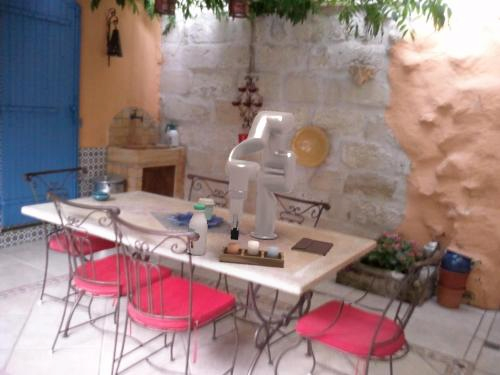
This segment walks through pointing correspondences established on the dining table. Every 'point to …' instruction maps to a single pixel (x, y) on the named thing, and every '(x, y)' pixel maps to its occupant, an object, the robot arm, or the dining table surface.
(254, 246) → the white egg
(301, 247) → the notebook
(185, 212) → the dining table surface
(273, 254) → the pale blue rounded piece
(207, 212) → the coffee cup
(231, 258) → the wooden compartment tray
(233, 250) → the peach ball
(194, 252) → the milk bottle
